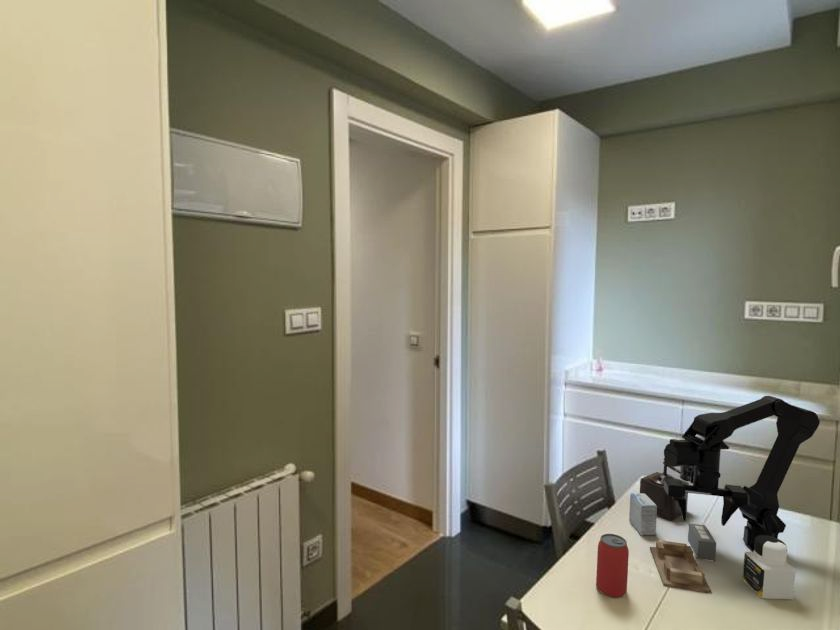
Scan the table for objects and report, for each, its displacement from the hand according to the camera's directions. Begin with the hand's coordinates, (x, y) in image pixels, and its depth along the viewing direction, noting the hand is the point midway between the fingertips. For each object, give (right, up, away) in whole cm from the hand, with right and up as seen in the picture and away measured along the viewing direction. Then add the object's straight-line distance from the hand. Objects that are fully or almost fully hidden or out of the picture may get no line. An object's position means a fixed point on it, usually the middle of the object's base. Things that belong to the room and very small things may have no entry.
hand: (703, 522), depth 129 cm
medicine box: (-11, -7, +12) cm, 17 cm away
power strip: (0, -8, +1) cm, 8 cm away
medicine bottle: (+6, -9, -15) cm, 19 cm away
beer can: (-30, -9, -16) cm, 36 cm away
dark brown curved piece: (+2, -6, +21) cm, 22 cm away
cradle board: (-11, -8, -8) cm, 16 cm away
